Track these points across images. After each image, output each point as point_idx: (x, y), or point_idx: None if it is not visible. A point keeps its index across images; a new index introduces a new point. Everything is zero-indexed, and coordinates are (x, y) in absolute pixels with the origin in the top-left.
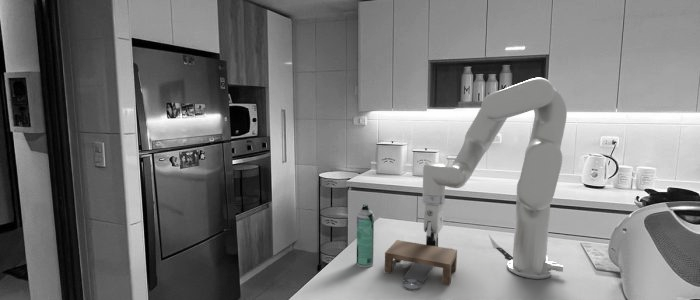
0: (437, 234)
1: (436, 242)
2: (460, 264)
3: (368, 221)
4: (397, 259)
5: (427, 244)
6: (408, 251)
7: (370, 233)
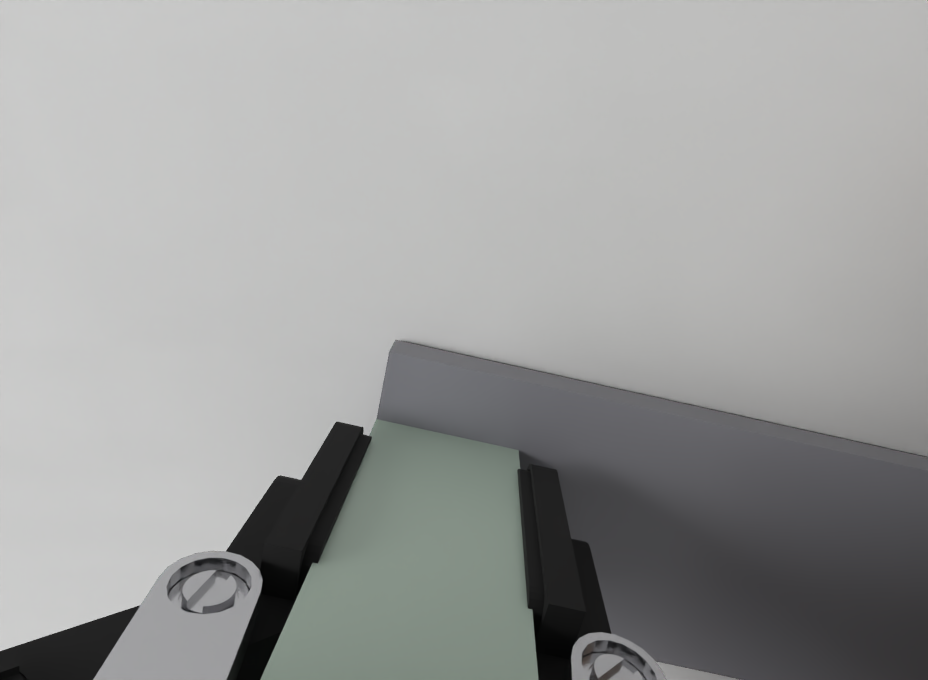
0: (236, 616)
1: (377, 512)
2: (819, 5)
3: None
4: None
5: None
6: None
7: None
